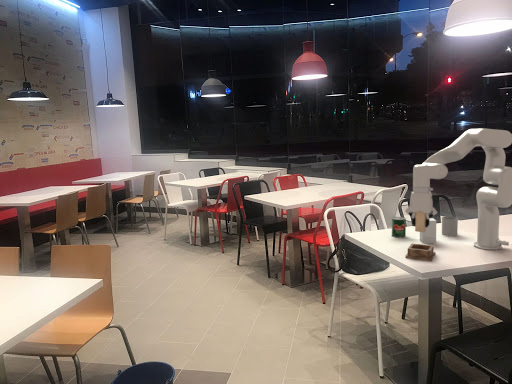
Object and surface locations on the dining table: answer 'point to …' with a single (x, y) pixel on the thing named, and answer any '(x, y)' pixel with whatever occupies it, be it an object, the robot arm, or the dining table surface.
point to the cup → (449, 226)
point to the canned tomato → (398, 227)
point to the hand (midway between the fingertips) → (420, 226)
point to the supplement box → (429, 232)
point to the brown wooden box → (421, 252)
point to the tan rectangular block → (420, 222)
